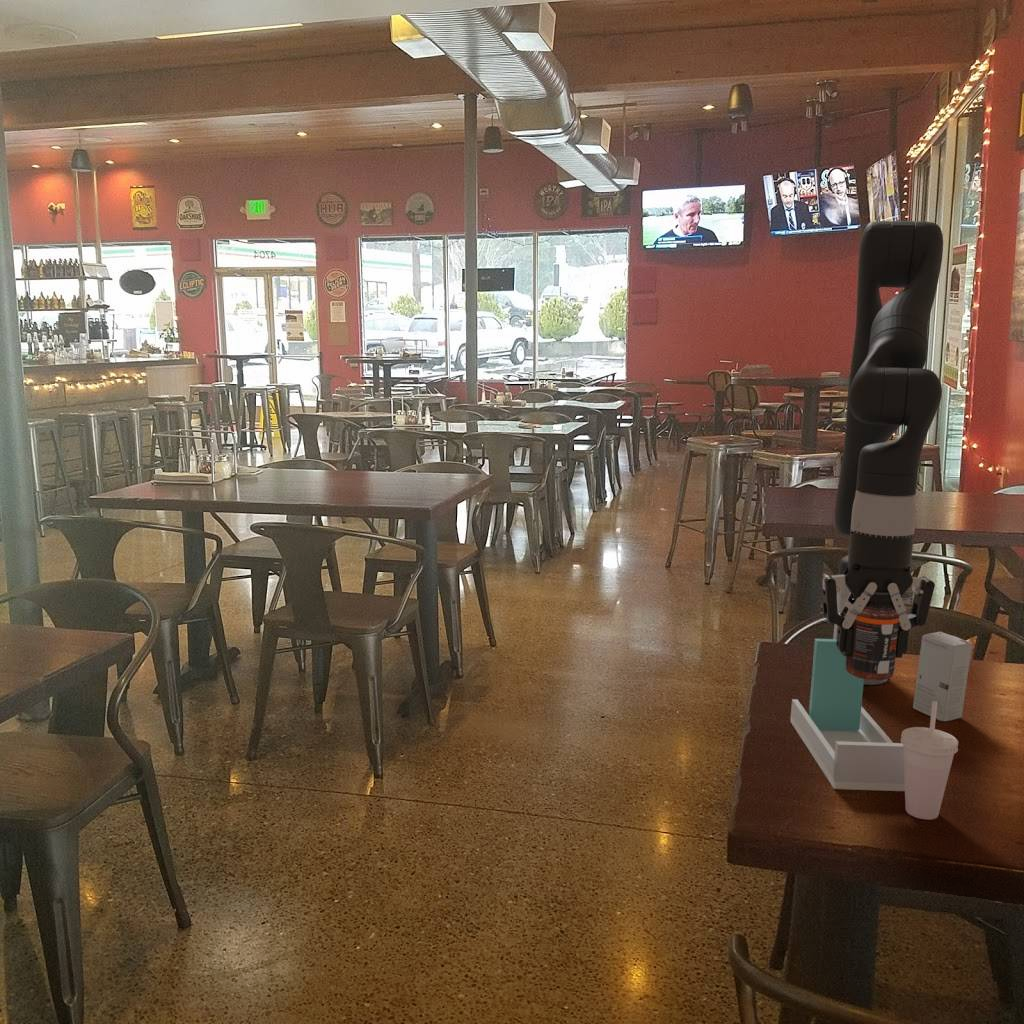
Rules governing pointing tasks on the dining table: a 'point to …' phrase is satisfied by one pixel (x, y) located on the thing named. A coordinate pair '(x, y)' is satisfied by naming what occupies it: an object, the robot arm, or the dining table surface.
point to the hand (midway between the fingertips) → (870, 654)
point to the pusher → (834, 689)
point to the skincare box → (942, 675)
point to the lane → (853, 753)
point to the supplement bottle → (874, 639)
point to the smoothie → (926, 767)
